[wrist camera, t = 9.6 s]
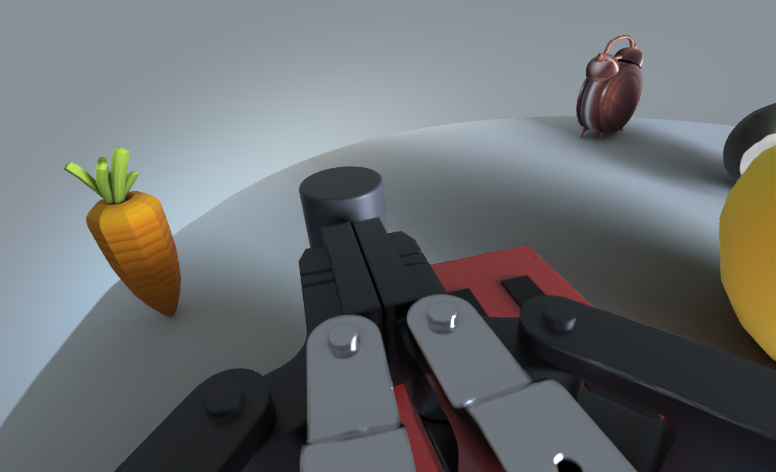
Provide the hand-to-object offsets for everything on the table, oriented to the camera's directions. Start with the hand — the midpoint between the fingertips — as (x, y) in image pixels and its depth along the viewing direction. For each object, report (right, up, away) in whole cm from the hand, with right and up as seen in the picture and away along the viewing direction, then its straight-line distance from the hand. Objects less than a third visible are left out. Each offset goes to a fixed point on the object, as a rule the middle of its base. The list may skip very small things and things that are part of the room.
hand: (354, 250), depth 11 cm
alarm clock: (+37, +17, +57) cm, 70 cm away
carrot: (-18, -7, +25) cm, 32 cm away
